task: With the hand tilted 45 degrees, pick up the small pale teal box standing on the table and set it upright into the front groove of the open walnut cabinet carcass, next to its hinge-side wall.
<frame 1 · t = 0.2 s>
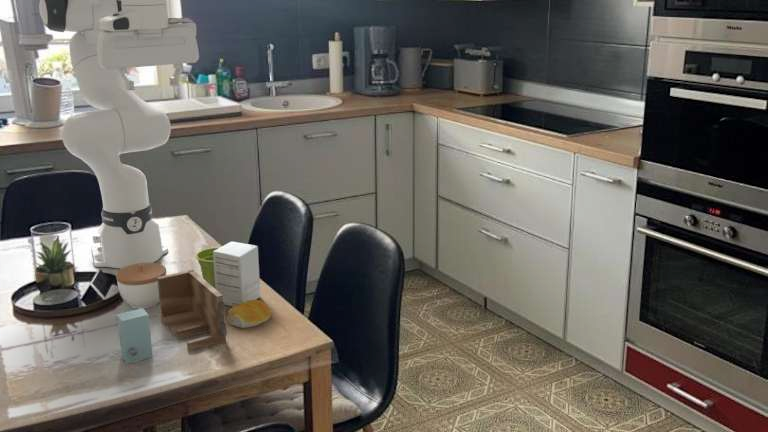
hand: (152, 87, 160), 48 cm above the table, tool pointing down, fingers open, 8 cm apart
bread roll: (249, 321, 166), on the table
lidded jar: (144, 304, 174), on the table
carcass: (187, 331, 160), on the table
plant pot: (219, 289, 181), on the table, touching supplement box
pale teal box: (137, 356, 150), on the table
supplement box: (238, 301, 175), on the table, touching plant pot
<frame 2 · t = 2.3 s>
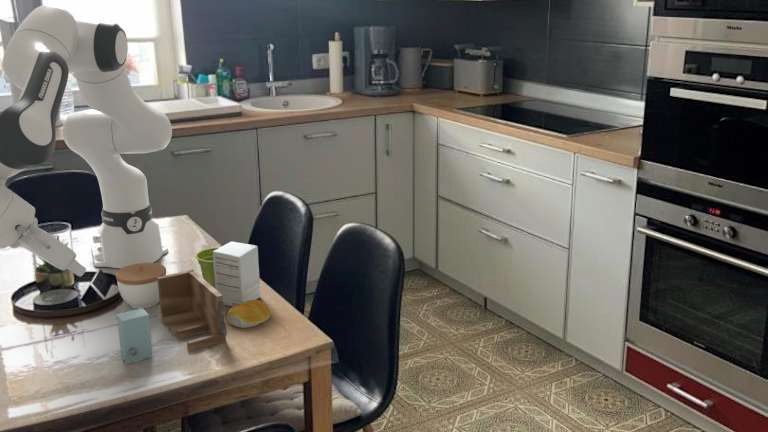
hand: (72, 267, 138), 21 cm above the table, tool tilted 40°, fingers open, 8 cm apart
nothing on the table moved.
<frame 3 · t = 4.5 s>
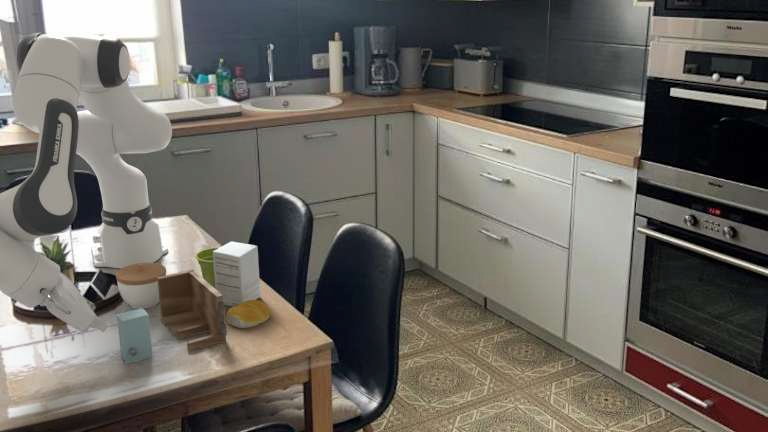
hand: (99, 318, 144), 10 cm above the table, tool tilted 45°, fingers open, 8 cm apart
nothing on the table moved.
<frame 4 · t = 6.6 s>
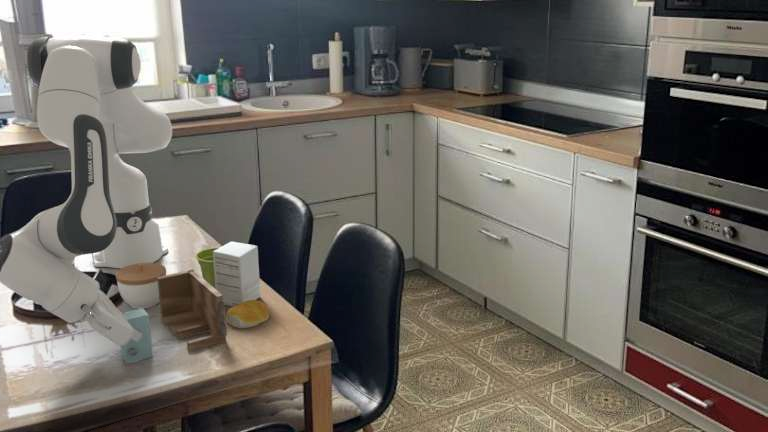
hand: (135, 332, 149), 5 cm above the table, tool tilted 45°, fingers closed on pale teal box, 3 cm apart
pale teal box: (137, 356, 150), on the table, touching gripper
everything else where it was.
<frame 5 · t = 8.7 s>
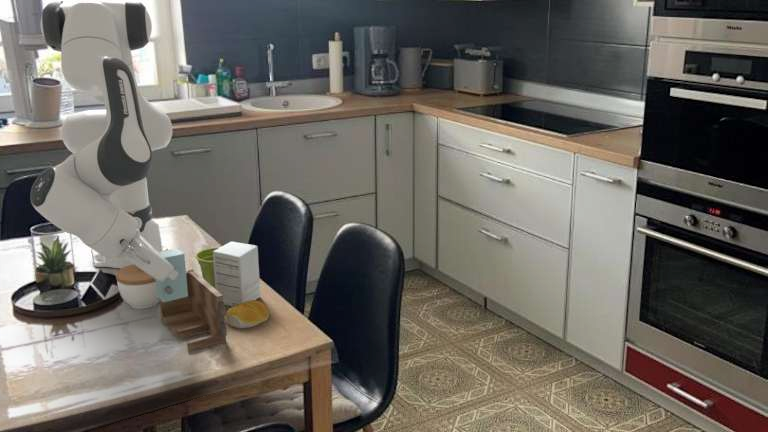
hand: (171, 271, 150), 16 cm above the table, tool tilted 45°, fingers closed on pale teal box, 3 cm apart
pale teal box: (172, 296, 151), point 11 cm above the table, touching gripper
everything else where it was.
when the fingers open (7 cm above the table, at t = 11.1 s): pale teal box drops 1 cm, resting in carcass.
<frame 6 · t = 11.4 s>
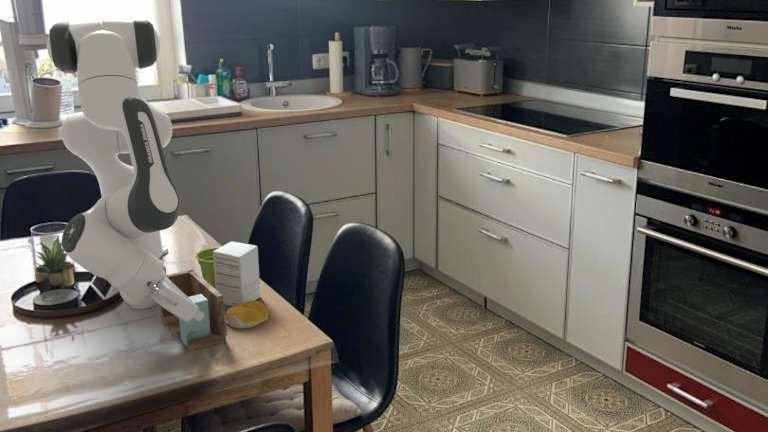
hand: (194, 310, 154), 7 cm above the table, tool tilted 45°, fingers open, 6 cm apart
pale teal box: (196, 340, 156), resting in carcass
everything else where it was.
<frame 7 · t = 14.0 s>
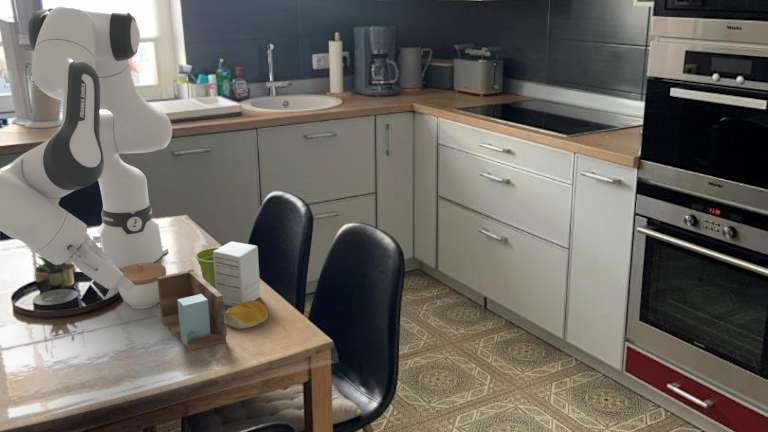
hand: (123, 278, 145), 16 cm above the table, tool tilted 45°, fingers open, 8 cm apart
nothing on the table moved.
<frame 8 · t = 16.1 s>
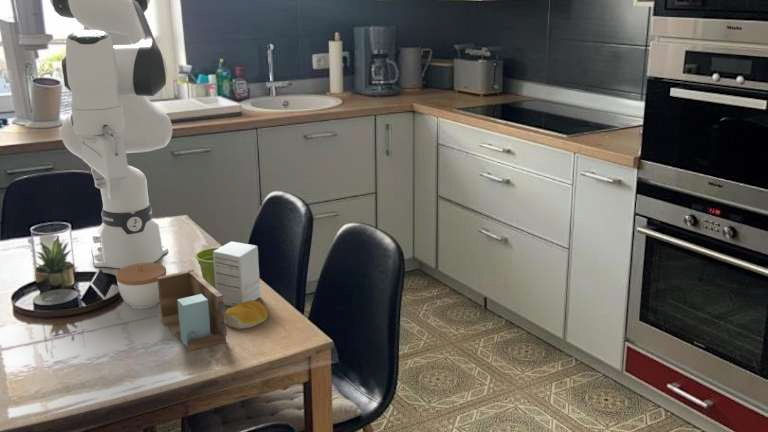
hand: (107, 193, 147), 31 cm above the table, tool pointing down, fingers open, 8 cm apart
nothing on the table moved.
at the end: pale teal box 0.1 cm from the target spot on the carcass, point 0.0 cm above the carcass's base; pale teal box tilted 0°; the gripper is holding nothing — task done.
